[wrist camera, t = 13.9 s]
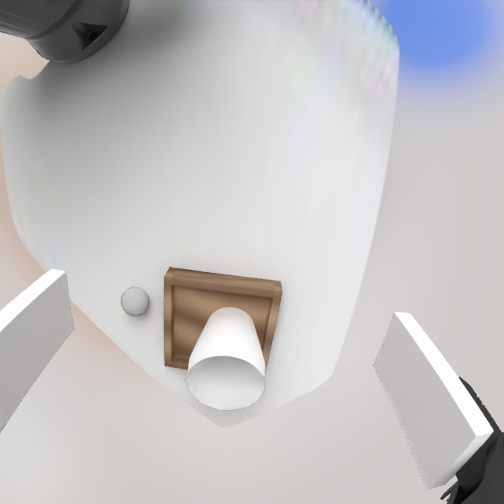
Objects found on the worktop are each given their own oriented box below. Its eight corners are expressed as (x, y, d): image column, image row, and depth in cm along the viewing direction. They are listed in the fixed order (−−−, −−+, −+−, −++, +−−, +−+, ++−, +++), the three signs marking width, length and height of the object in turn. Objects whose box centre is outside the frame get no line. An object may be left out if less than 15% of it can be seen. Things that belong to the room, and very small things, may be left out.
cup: (273, 337, 44) (280, 396, 33) (220, 359, 46) (213, 418, 35) (243, 288, 42) (241, 342, 30) (186, 314, 43) (168, 370, 32)
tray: (169, 267, 42) (164, 276, 39) (280, 281, 43) (282, 291, 40) (168, 353, 47) (164, 365, 44) (263, 365, 48) (263, 378, 45)
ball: (126, 280, 42) (115, 293, 39) (152, 284, 43) (143, 298, 39) (127, 304, 44) (117, 318, 40) (152, 308, 44) (144, 323, 40)
